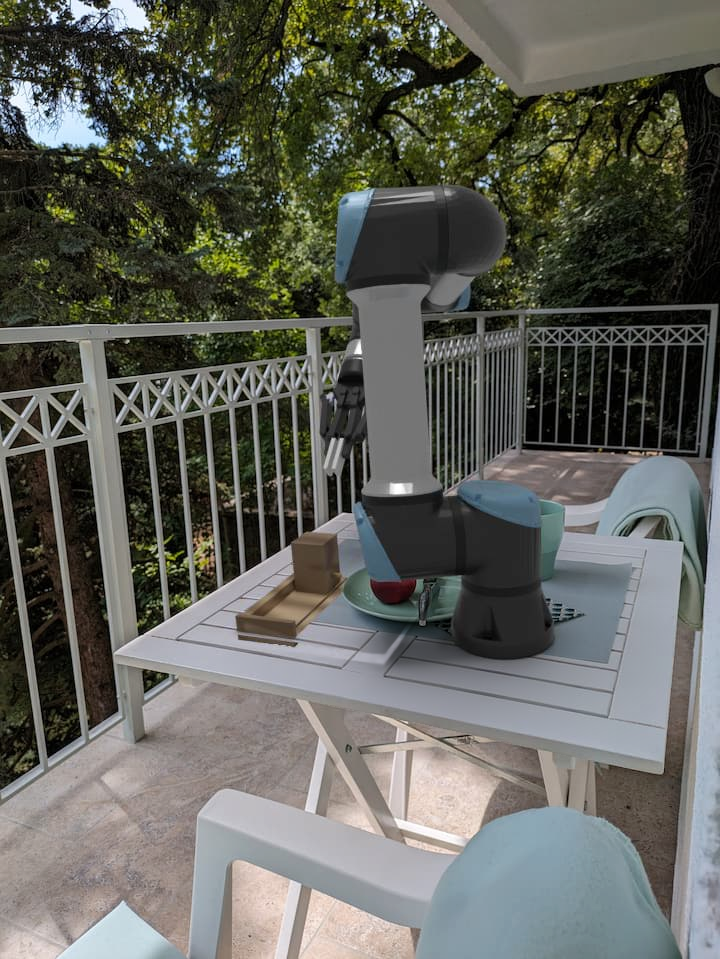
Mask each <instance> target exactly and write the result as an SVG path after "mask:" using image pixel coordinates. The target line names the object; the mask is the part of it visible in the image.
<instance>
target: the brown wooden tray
mask: <svg viewBox="0 0 720 959" xmlns="http://www.w3.org/2000/svg"><path fill="white" fill-rule="evenodd" d="M348 578H349V577H347V576H346V577H345V576H344V577H343V576H342V577H341V582H340V583H339V584H338V585H337V586H336V587H334V588H333V589H332V590H331V591H330V592H329V593H328V594H327V595H323V594H314V593H304V592H296V591H295V580H294V572H293V573H291V574H290V575H289V576H288V577H286V578H285V579H284V580H283V581H281V582H280V583H279V584H278V585H276V586H275V587H273V589H271V590H270V591H269V592H267V593H266V594H265V595H263V596H262V597H261V598H260V599H259V600H258V601H256V602H255V603H254V604H253V605H251V606H250V607H249V608H248V609H246V610H245V611H244V612H243V613H236V615H235V616H234V617H235V625H236V631H237V632H241V633H248V634H256V635H263V636H272V637H277V638H278V637H279V638H286V639H292V640H293V639H295V638H296V637H297V636H298V635H299V634H300V633H301V632H303V631H304V630H305V628H307V627H308V625H309V624H311V623H312V622H313V621H314V620H315V618H317V617H318V616H319V615H320V614H321V613H322V612H323V611H324V610H325V609H326V608H327V607H328V606H330V604H331V603H332V602H333V601H334V600H335V599H336V598H337V597H338V596H339V595H340V594H342V592H343V591H344V590H343V586H344V583H345V581H346V580H347V579H348ZM237 639H238V640H240V641H245V642H246V641H247V642H252V643H253V642H255V643H261V644H266V643H267V645H273V644H278V645H277V646H281V645H286V646H285V647H288V646H291V647H290V648H296V647H297V646H298V645H299V644H298V643H299V642H297V641H296V642H295V641H290V640H289V641H287V640H282V639H276V638H275V639H274V638H268V637H267V638H266V637H258V636H251V635H243V634H237ZM297 644H298V645H297ZM296 645H297V646H296ZM295 646H296V647H295Z"/></svg>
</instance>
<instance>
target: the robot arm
mask: <svg viewBox="0 0 720 959" xmlns="http://www.w3.org/2000/svg"><path fill="white" fill-rule="evenodd" d="M336 224H337V226H336V240H335V241H336V244H335V261H334V262H335V265H334V266H335V267H334V281H336V283H339V284H344V283H345V292H346V297H347V298H349V300H351V303H352V317H351V318H352V328H351V332H350V335H349V340H348V343H347V346H346V349H345V352H344V356H343V359H342V364H341V367H340V370H339V372H338V376H337V384H336V385H335V387H334V388H333V389H332V392H330V393H328V394H326V393H321V394H320V395H319V399H320V402H321V407H320V408H321V409H320V411H321V412H320V421H319V430H318V431H319V432H318V434H319V436H320V437H321V438H322V440H323V442H324V443H325V446H324V450H323V454H324V456H325V461H324V464H323V467H322V468H323V470H324V472H325V474H327V476H328V477H333V474H335V475H336V477H341V476H342V471H343V468H344V465H345V461H346V459H347V460H349V459H350V457H351V453H352V451H353V448H354V447H353V446H354V445H355V444H356V443H361V444H362V443H363V442H365V440H366V438H367V444H368V453H369V454H368V455H369V468H370V470H369V471H370V479H369V481H368V482H367V483H366V484H365V485H364V487H362V489H361V491H360V492H361V501H357V503H356V502H355V503H354V504H353V505H352V511H353V515H354V520H355V524H356V529H357V534H358V539H359V543H360V548H361V553H362V558H363V561H364V562H363V563H364V567H365V571H366V574H367V576H368V577H369V579H371V580H372V581H375V582H378V583H382V582H383V583H384V582H387V583H388V582H398V583H403V582H404V581H405V582H406V581H416V580H426V579H427V580H428V579H439V578H440V579H441V578H449V577H460V579H461V582H460V583H461V586H460V591H459V594H458V597H457V599H456V603H455V607H454V611H453V614H452V617H451V621H450V622H451V623H450V626H451V638H452V640H453V642H454V644H456V645H457V646H458V647H459V648H461V649H463V650H464V651H466V652H468V653H470V654H474V655H477V656H480V657H486V658H491V659H518V658H519V659H521V658H526V657H531V656H533V655H537V654H539V653H541V652H543V651H545V650H547V648H549V647H551V645H552V643H553V642H554V641H555V622H554V618H553V616H552V613H551V610H550V607H549V605H548V602H547V599H546V596H545V593H544V590H543V587H542V527H543V519H542V510H541V503H540V502H541V501H540V499H539V497H538V496H537V494H536V493H535V492H534V491H532V490H531V489H530V488H527V487H525V486H522V485H519V484H515V483H511V482H507V481H502V480H501V481H500V480H499V481H498V480H487V479H476V480H475V479H474V480H469V481H464V482H462V483H460V484H458V486H457V487H458V488H456V489H457V490H456V494H455V495H444V489H443V483H441V482H440V481H439V480H438V479H437V478H436V477H435V476H434V475H433V474H432V472H431V470H432V469H431V468H432V467H431V456H430V455H431V451H430V440H429V439H430V438H429V435H430V434H429V424H428V423H429V422H428V421H429V420H428V406H427V391H426V388H427V387H426V376H425V375H426V374H425V358H424V357H425V356H424V355H425V354H424V342H423V327H422V326H423V325H422V314H427V313H441V312H443V313H444V312H447V313H452V312H455V311H463V310H466V309H467V308H468V307H469V305H470V299H471V283H472V282H473V281H474V279H475V278H476V277H479V276H481V275H484V274H486V273H488V272H489V271H490V270H491V269H492V268H493V267H495V265H496V264H497V263H498V262H499V260H500V258H501V257H502V256H503V252H504V250H505V247H506V243H507V227H506V224H505V221H504V218H503V216H502V215H501V212H500V211H499V210H498V208H497V206H496V205H494V203H492V201H491V200H490V199H489V198H487V197H486V196H485V195H483V194H481V193H479V192H478V191H476V190H474V189H472V188H469V187H466V186H463V185H458V184H457V185H456V184H440V185H429V186H428V185H425V186H424V185H423V186H407V187H406V186H404V187H402V186H401V187H384V188H383V187H382V188H380V187H379V188H375V187H372V188H371V189H365V190H360V191H352V192H348V193H345V194H344V195H343V196H342V197H341V199H339V202H338V207H337V223H336ZM335 400H336V405H335V406H336V407H335V408H336V409H335V412H334V415H333V414H332V413H333V406H334V401H335ZM364 407H365V410H364ZM332 416H333V417H332ZM347 416H348V419H347ZM346 419H347V424H346V426H345V427H346V428H345V433H342V430H343V428H344V425H345V421H346ZM341 433H342V435H343V437H344V438H343V437H340V436H341Z"/></svg>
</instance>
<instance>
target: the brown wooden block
mask: <svg viewBox="0 0 720 959" xmlns="http://www.w3.org/2000/svg"><path fill="white" fill-rule="evenodd" d="M338 541H339V540H338V534H337V533H329V532H328V533H327V532H316V531H315V532H314V531H306V532H304V533H303V534H300V536H298V537H297V538H296V539H295V540H292V541H291V542H290V547H291V548H290V549H291V559H292V568H293V570H292V571H293V573H294V580H295V591H296V592H304V593H314V594H323V595H327V594H328V593H329V592H330V591H331V590H332V589H333V588H334V587H336V586H337V585H338V584H339V583H340V582H341V577H343V574H342V573H341V567H340V555H339V544H338V543H339V542H338Z"/></svg>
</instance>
